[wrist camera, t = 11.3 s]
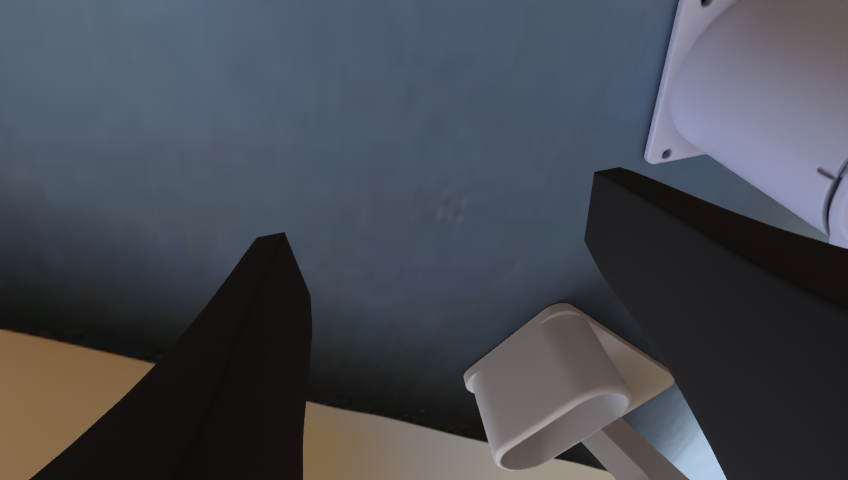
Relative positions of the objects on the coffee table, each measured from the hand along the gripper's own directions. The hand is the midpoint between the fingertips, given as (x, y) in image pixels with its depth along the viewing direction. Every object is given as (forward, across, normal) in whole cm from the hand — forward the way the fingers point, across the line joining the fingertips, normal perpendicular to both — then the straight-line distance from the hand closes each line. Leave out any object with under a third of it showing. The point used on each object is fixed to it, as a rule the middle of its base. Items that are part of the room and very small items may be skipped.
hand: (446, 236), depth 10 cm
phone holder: (+11, -10, +25) cm, 29 cm away
